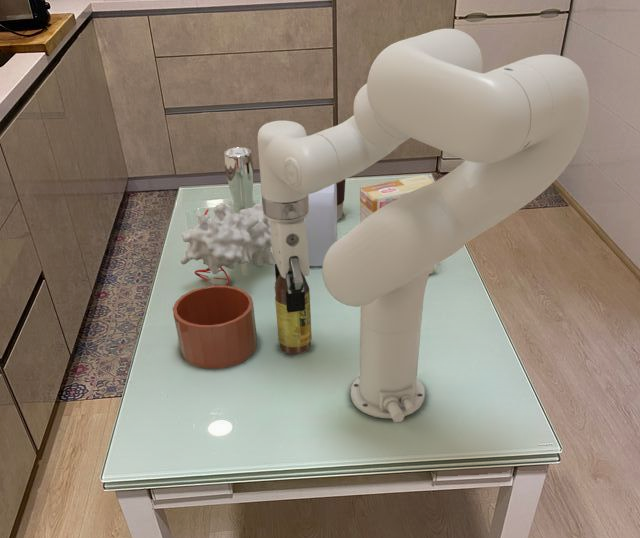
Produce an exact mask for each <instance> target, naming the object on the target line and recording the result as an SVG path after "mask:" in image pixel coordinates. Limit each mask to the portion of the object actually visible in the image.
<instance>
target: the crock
mask: <svg viewBox="0 0 640 538" xmlns="http://www.w3.org/2000/svg"><path fill="white" fill-rule="evenodd" d="M218 285H219V284H214V285H208V286H203V287H202V286H201V287H199V288H198V287H197V288H196V289H192V290H190V291H188V292H186V293H185V294H183V295H181V296H180V297H179V298H178V299H177V300H176V301H175V302H174V304H173V307H172V313H173V318H174V323H175V329H176V334H177V339H178V344H179V349H180V352H181V355H182V357H183V359H184V360H185V361H186V362H188V363H189V364H191V365H192V366H195V367H198V368H202V369H208V370H209V369H210V370H211V369H213V370H216V369H226V368H231V367H233V366H236V365H239V364H241V363H244V362H245V361H247V360H248V359H249V358H250V357H252V356H253V354H254V353H255V352H256V350H257V347H258V335H257V325H256V317H255V307H254V301H253V298H252V295H250V294H249V292H247V291H246V290H244V289H242V288H239V287H236V286H231V285H228V286H226V285H223V286H218Z"/></svg>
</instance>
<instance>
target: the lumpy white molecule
mask: <svg viewBox="0 0 640 538" xmlns="http://www.w3.org/2000/svg"><path fill="white" fill-rule="evenodd" d="M254 204H255V205H254V206H253V207H252V208H247V209H242V210H241V211H240V213H239V214H237V213H236V212H235V209H234V208H233V207H232V205H230V204H226V203H224V202H221V203H219V204H217V205H215V206H214V207H213V213H214V218H213V217H211V216H210V215H208V212H209V211H210V210H209V208H207V209H206V210H205V212H204V213H201V212H199V213H198V214H197V215H196V216H197V224H195V226H194V227H189V229H188V230H187V231H183V232H182V233H181V237H182V241H183V243H188V244H187V250H186V251H185V253H184V254H185V255H184V256H183V257H181V259H180V264H181V265H183V266H184V265H186V264H187V263H189V262H190V261H192V260H195V261H199V260H202V261H203V265H206V266H208V267H207V268H206V269H197V270H195V271H194V275H196V276H197V277H199V278H200V279H202V280H204V281H205V282H207V284H209V285H212V283H211V282H210V281H208V280H207V278H209V276H208V275H205V274H202V273H206V274H210V273H211V274H213V275H218V274H219V272H223V273H224V275H225V277H226V278H221V277H212V279H214V280H224V281H227V283H226V285H225V286H230V281H231V280H230V277H229V274H228V273H227V272H226V270H225V269H224V268H223V267H226V268H228V269H229V270H233V269H234V268H235V264H237V263H238V264H239V265H245V264H249V262H252V261H253V263H254V264H255V266H256V267H258V268H260V267H262V265H265V264H266V265H269V266H275V259H274V256H273V252H272V245H271V233H270V221H269V220H267V219H266V218H265V217H264V216H263V207H262V203H254ZM217 285H218V286H224V285H223V284H217Z"/></svg>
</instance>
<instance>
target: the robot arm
mask: <svg viewBox="0 0 640 538" xmlns="http://www.w3.org/2000/svg"><path fill="white" fill-rule="evenodd" d="M483 69H484V59H483V55H482V51H481V49H480V47H479V45H478V43H477V42H476V40H475V39H473V37H472V36H471V35H469V34H468V33H466V32H464V31H462V30H460V29H457V28H440V29H434V30H432V31H429V32H426V33H425V32H424V33H422V34H419V35H415V36H412V37H408V38H405V39H402V40H399V41H396V42H394V43H392V44H390V45H389V46H387V47H385V48H384V49H383V50H382V51H380V53H379V54H378V55H377V56H376V58H375V59H374V61H373V62H372V64H371V66H370V68H369V72H368V75H367V81H366V83H364V85H362V87H360V88H359V90H358V91H357V93H356V95H355V96H354V100H353V107H352V109H353V115H352V116H350V117H349V118H348V119H346V120H345V121H343V122H341V123H339V124H337V125H334V126H331V127H328V128H326V129H323V130H320V131H318V132H315V133H313V134H309V135H308V134H307V131H306V129H305V127H304V126H303V125H302V124H300V123H298V122H296V121H291V120H284V119H283V120H274V121H270V122H266V123H265V124H263V125H262V126H260V128H259V130H258V132H257V152H258V163H259V178H260V192H261V204H262V207H263V216H264V217H265V218H266V219H267V220H269V221H270V233H271V245H272V246H271V252H272V255H273V260H274V270H275V271H274V274H275V280H276V279H277V277H278V276H279V274H281V276H282V277H283V278H285V279H286V285H287V291H286V307H287V312H289V313H290V312H297V311H303V310H305V290H304V284H303V278H302V274H303V275H304V277H305V276H306V277H308V276H309V275H310V271H311V270H310V266H309V257H308V243H307V233H306V226H305V218H306V217H307V216H308V214H309V197H308V194H312V193H315V192H317V191H320V190H322V189H324V188H326V187H329V186H331V185H332V184H335V183H337V182H339V181H342V180H344V179H349V178H352V177H354V176H355V175H358V174H359V173H361V172H363V171H365V170H366V169H368V168H369V167H371V166H373V165H374V164H376V163H378V162H379V161H380V160H382V159H384V158H386V156H388V155H390V154H391V153H392V152H394V151H395V150H396V149H397V148H398V147H399V146H400V145H402V144H403V143H405V142H406V141H408V140H410V139H413V140H414V141H418V142H420V143H422V144H425V145H428V146H430V147H432V148H435V149H437V150H439V151H442V152H444V153H446V154H448V155H451V156H453V157H456V158H458V159H461V160H464V161H463V162H462V163H460V164H459V165H457V166H456V167H455V168H453V169H452V170H451V171H449V172H448V173H446V174H445V175H444V176H442V177H440V178H439V179H437V180H436V181H435V180H434V182H433V183H431V184H429V185H426V186H423V187H421V188H419V189H417V190H415V191H412V192H410V193H408V194H406V195H404V196H402V197H400V198H398V199H396V200H394V201H392V202H390V203H388V204H386V205H385V206H383V207H382V208H380V209H378V210H377V211H375V212H374V213H372V214H371V215H370V216H368V217H367V218H366V219H365V220H363V221H362V222H361V223H360V222H359V223H358V224H357V225H355V226H354V227H353V228H352V229H350V230H349V231H348V232H346V233H345V234H344V235H342V236H341V237H340V238H339V239H337V241H336V242H335V243H334V244H333V245H332V246H331V247H330V248H329V250H328V251H327V253H326V255H325V258H324V261H323V266H322V280H323V283H324V286H325V288H326V290H327V292H328V293H329V294H330V295H331V297H333V299H335V300H336V301H337V302H339V303H340V304H343V305H345V306H348V307H353V308H358V307H360V319H359V321H360V322H359V323H360V325H359V326H360V327H359V376H358V377H357V378H355V380H354V381H353V382H352V384H351V386H350V399H351V401H352V403H353V405H354V406H355V408H357V410H360V411H361V412H362V413H364V414H366V415H369V416H372V417H375V418H380V419H392V421H393V422H394V423H396V424H397V423H401V422H403V420H404V419H405V417H406V416H410V415H411V414H414V413H415V412H417V411H418V410H419V409H420V408H421V407H422V405H423V404H424V401H425V398H426V397H425V396H426V390H425V386H424V384H423V383H422V382H421V380H420V379H419V378H418V371H419V370H418V369H419V368H418V367H419V356H420V346H421V331H422V322H423V321H422V320H423V310H424V300H425V294H426V293H425V292H426V288H427V283H428V281H429V276H430V274H429V273H430V270H431V268H432V267H433V266H434V267H435V266H437V265H438V264H440V263H442V262H443V261H445V260H446V259H448V258H450V257H451V256H453V255H454V254H456V253H457V252H458V251H459V250H461V249H462V248H463V247H464V246H465V245H467V244H468V243H470V242H471V241H472V240H474V239H475V238H477V237H479V236H480V235H481V234H483V233H484V232H486V231H488V230H490V229H491V228H493V227H495V226H497V225H498V224H499V223H501V222H502V221H503V220H505V219H507V218H508V217H510V216H511V215H513V214H514V213H516V212H518V211H519V210H520V209H523V208H524V207H526V205H528V204H530V203H531V202H532V201H533V200H536V198H537V197H539V196H540V195H541V194H543V193H544V192H545V191H546V190H547V189H548V188H549V187H550V186H551V185H552V184H553V183H554V182H555V181H556V180H557V179H558V178H559V176H561V174H562V173H563V172H564V171H565V169H566V168H567V167H568V166H569V164H570V163H571V161H572V160H573V158H574V157H575V155H576V153H577V151H578V149H579V147H580V145H581V142H582V140H583V137H584V135H585V132H586V128H587V125H588V118H589V113H590V91H589V86H588V81H587V78H586V76H585V73H584V72H583V70H582V68H581V67H580V66H579V65H578V64H577V63H576V62H574V61H573V60H572V59H570V58H568V57H565V56H563V55H561V54H550V53H549V54H546V53H545V54H537V55H532V56H528V57H524V58H523V59H519V60H517V61H514V62H511V63H508V64H505V65H503V66H501V67H498V68H495V69H492V70H490V71H487V72H483ZM289 261H290V263H289ZM288 271H292V274H288ZM292 278H293V282H294V283H292V284H291V285H290V279H292Z"/></svg>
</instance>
